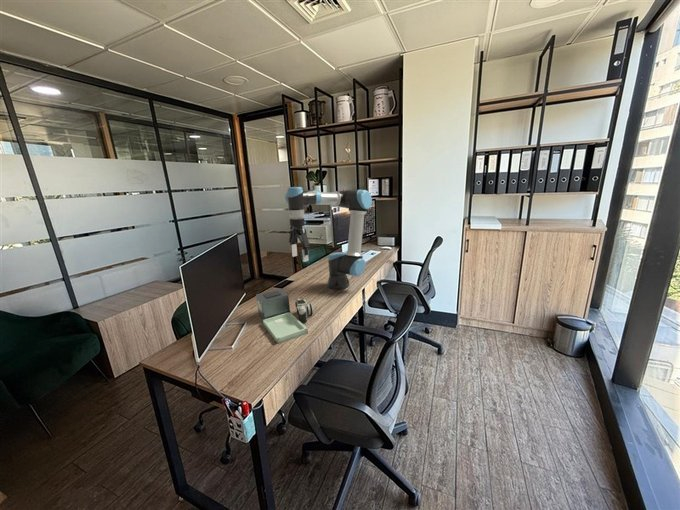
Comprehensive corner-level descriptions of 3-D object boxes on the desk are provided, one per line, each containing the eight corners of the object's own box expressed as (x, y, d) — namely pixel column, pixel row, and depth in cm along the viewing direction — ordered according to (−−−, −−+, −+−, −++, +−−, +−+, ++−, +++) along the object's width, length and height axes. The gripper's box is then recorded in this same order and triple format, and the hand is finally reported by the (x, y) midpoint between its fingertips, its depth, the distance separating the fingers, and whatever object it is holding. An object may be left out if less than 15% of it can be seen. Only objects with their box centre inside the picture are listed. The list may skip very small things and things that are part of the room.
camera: (316, 322, 142) (314, 304, 140) (299, 325, 140) (297, 307, 137) (310, 309, 157) (309, 293, 155) (295, 312, 155) (293, 295, 152)
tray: (290, 316, 150) (289, 311, 150) (307, 333, 132) (307, 328, 132) (263, 324, 143) (262, 320, 142) (277, 343, 125) (277, 339, 124)
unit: (284, 307, 162) (282, 287, 159) (292, 314, 152) (290, 293, 149) (258, 314, 154) (255, 293, 151) (264, 323, 144) (261, 301, 141)
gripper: (280, 217, 148) (284, 255, 154) (300, 221, 128) (304, 264, 133) (293, 215, 152) (296, 253, 157) (315, 219, 132) (317, 262, 137)
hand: (300, 258), depth 145 cm, fingers open, 13 cm apart
